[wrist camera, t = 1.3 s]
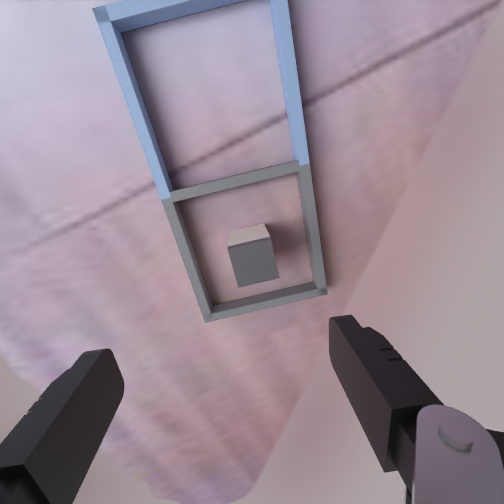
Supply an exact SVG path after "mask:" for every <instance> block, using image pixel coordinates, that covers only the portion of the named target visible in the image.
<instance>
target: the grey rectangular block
mask: <svg viewBox="0 0 504 504" xmlns="http://www.w3.org/2000/svg"><path fill="white" fill-rule="evenodd" d="M228 252H229V255H230V259H231V262H232V266H233V270H234V273H235V277H236V280H237V284H238V287H243V286H248V285H252V284H256V283H260V282H265V281H269V280H273V279H277V278H279V274H278V269H277V264H276V260H275V255H274V250H273V245H272V241H271V238H270V235H269V233H268V231H267V229H266V227H265V225H264V224H259V225H255V226H251V227H247V228H243V229H239V230H234V231H230V232H229V241H228Z"/></svg>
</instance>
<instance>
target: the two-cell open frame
mask: <svg viewBox="0 0 504 504" xmlns="http://www.w3.org/2000/svg"><path fill="white" fill-rule="evenodd" d="M241 1H245V0H123V1H119V2H115V3H111V4H107V5H104V6H100V7H96V8H92V9H93V11H94V14H95V17H96V20H97V23H98V25H99V28H100V31H101V34H102V36H103V39H104V42H105V45H106V48H107V50H108V53H109V56H110V59H111V62H112V64H113V67H114V70H115V73H116V75H117V78H118V81H119V84H120V87H121V89H122V92H123V95H124V98H125V101H126V103H127V106H128V109H129V112H130V114H131V117H132V120H133V123H134V126H135V128H136V131H137V134H138V137H139V139H140V142H141V145H142V148H143V151H144V153H145V156H146V159H147V162H148V165H149V167H150V170H151V173H152V176H153V178H154V181H155V184H156V187H157V190H158V192H159V195H160V198H161V201H162V204H163V206H164V209H165V212H166V215H167V217H168V220H169V223H170V226H171V229H172V231H173V234H174V237H175V240H176V242H177V245H178V248H179V251H180V254H181V256H182V259H183V262H184V265H185V268H186V270H187V273H188V276H189V279H190V281H191V284H192V287H193V290H194V293H195V295H196V298H197V301H198V304H199V307H200V309H201V312H202V315H203V318H204V320H205V323H206V322H211V321H215V320H219V319H223V318H228V317H232V316H236V315H241V314H245V313H249V312H253V311H258V310H262V309H266V308H270V307H275V306H279V305H283V304H288V303H292V302H296V301H300V300H305V299H309V298H313V297H318V296H322V295H326V294H327V287H326V279H325V272H324V265H323V257H322V250H321V243H320V235H319V228H318V221H317V213H316V206H315V199H314V191H313V184H312V177H311V169H310V162H309V155H308V147H307V140H306V133H305V125H304V118H303V111H302V103H301V96H300V89H299V81H298V74H297V67H296V59H295V52H294V45H293V37H292V30H291V23H290V15H289V8H288V1H287V0H270V6H271V13H272V19H273V26H274V32H275V38H276V45H277V51H278V58H279V64H280V70H281V77H282V83H283V90H284V96H285V102H286V109H287V115H288V121H289V128H290V134H291V141H292V147H293V153H294V160H295V161H291V162H287V163H283V164H279V165H275V166H271V167H267V168H263V169H259V170H255V171H251V172H246V173H242V174H238V175H234V176H230V177H226V178H222V179H218V180H214V181H210V182H206V183H202V184H197V185H193V186H189V187H185V188H181V189H177V190H173V187H172V184H171V181H170V178H169V175H168V172H167V169H166V166H165V163H164V160H163V157H162V154H161V151H160V149H159V146H158V143H157V140H156V137H155V134H154V131H153V128H152V125H151V122H150V119H149V116H148V113H147V110H146V107H145V104H144V101H143V98H142V95H141V92H140V89H139V86H138V83H137V80H136V77H135V74H134V71H133V68H132V65H131V62H130V59H129V56H128V53H127V50H126V48H125V45H124V42H123V39H122V36H121V32H125V31H129V30H133V29H137V28H141V27H144V26H148V25H152V24H156V23H160V22H164V21H168V20H171V19H175V18H179V17H183V16H187V15H191V14H195V13H199V12H202V11H206V10H210V9H214V8H218V7H222V6H226V5H229V4H233V3H237V2H241ZM295 172H296V173H297V179H298V185H299V192H300V198H301V205H302V211H303V217H304V224H305V230H306V237H307V243H308V249H309V256H310V262H311V268H312V275H313V281H314V282H311V283H307V284H302V285H298V286H294V287H290V288H285V289H281V290H277V291H273V292H268V293H264V294H260V295H256V296H251V297H247V298H243V299H239V300H234V301H230V302H226V303H222V304H217V305H213V306H212V303H211V300H210V297H209V294H208V291H207V288H206V285H205V282H204V279H203V276H202V273H201V270H200V267H199V264H198V261H197V258H196V255H195V253H194V250H193V247H192V244H191V241H190V238H189V235H188V232H187V229H186V226H185V223H184V220H183V217H182V214H181V211H180V208H179V205H178V202H177V201H180V200H184V199H188V198H192V197H197V196H201V195H205V194H209V193H213V192H217V191H221V190H225V189H229V188H233V187H238V186H242V185H246V184H250V183H254V182H258V181H262V180H266V179H270V178H274V177H278V176H283V175H287V174H291V173H295Z"/></svg>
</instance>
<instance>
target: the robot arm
mask: <svg viewBox="0 0 504 504" xmlns="http://www.w3.org/2000/svg"><path fill="white" fill-rule="evenodd" d="M329 354H330V359H331V363H332V366H333V368H334V370H335V372H336V374H337V377H338V379H339V381H340V383H341V385H342V387H343V389H344V391H345V393H346V395H347V397H348V399H349V401H350V403H351V405H352V407H353V409H354V411H355V413H356V415H357V417H358V420H359V421H360V424H361V425H362V428H363V430H364V432H365V434H366V436H367V438H368V440H369V442H370V444H371V446H372V448H373V450H374V452H375V454H376V456H377V458H378V460H379V462H380V465H381V467H382V468H383V471H384V472H391V471H397V470H398V472H399V473H400V475H401V477H402V479H403V481H404V483H405V485H406V487H405V497H404V504H504V432H498V431H493V430H488V429H485V428H484V427H483V426H482V425H481V424H479V423H478V422H477V421H476V420H474V419H473V418H472V417H470V416H468V415H467V414H465V413H463V412H461V411H459V410H457V409H454V408H452V407H448V406H445V405H444V404H443V403H442V402H441V401H440V400H439V399H438V398H437V396H436V395H435V394H434V393H433V392H432V391H431V390H430V389H429V387H428V386H427V385H426V384H425V383H424V382H423V380H422V379H421V378H420V377H419V376H418V375H417V374H416V372H415V371H414V370H413V369H412V368H411V367H410V366H409V364H408V363H407V362H406V361H405V360H403V359H402V356H401V355H400V354H399V353H398V352H397V351H396V350H394V348H393V346H392V345H391V344H390V343H389V341H388V340H386V338H385V337H384V336H383V335H381V334H380V333H378V332H377V331H375V330H373V329H372V328H370V327H366V328H362V327H361V326H360V324H359V323H358V322H357V321H356V319H355V318H354V317H353V316H352V315H344V316H337V317H331V318H330V319H329ZM123 394H124V380H123V377H122V375H121V372H120V370H119V367H118V365H117V362H116V360H115V357H114V354H113V352H112V351H111V350H110V349H100V350H93V351H87V352H84V353H83V354H82V355H81V356H80V357H79V358H78V360H77V361H76V362H75V363H74V365H73V366H72V367H71V368H70V369H68V370H67V371H65V372H64V373H63V374H62V375H60V376H59V377H58V378H57V379H56V380H54V381H53V382H52V383H51V384H50V385H49V386H48V388H47V389H46V390H45V391H44V392H43V394H42V395H41V396H40V397H39V400H38V401H36V402H35V403H34V404H33V406H32V407H31V408H30V409H29V410H28V414H27V415H24V416H23V418H22V419H21V420H20V421H19V422H18V424H17V425H16V426H15V427H14V428H13V430H12V431H11V432H10V433H9V434H8V436H7V437H6V438H5V439H4V440H3V442H2V443H1V444H0V504H72V503H73V501H74V499H75V497H76V495H77V493H78V491H79V488H80V486H81V484H82V482H83V480H84V478H85V476H86V474H87V471H88V469H89V467H90V465H91V463H92V461H93V459H94V457H95V455H96V453H97V451H98V448H99V446H100V444H101V442H102V440H103V438H104V436H105V434H106V432H107V430H108V427H109V425H110V423H111V421H112V419H113V417H114V415H115V413H116V411H117V408H118V406H119V404H120V402H121V400H122V397H123Z"/></svg>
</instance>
